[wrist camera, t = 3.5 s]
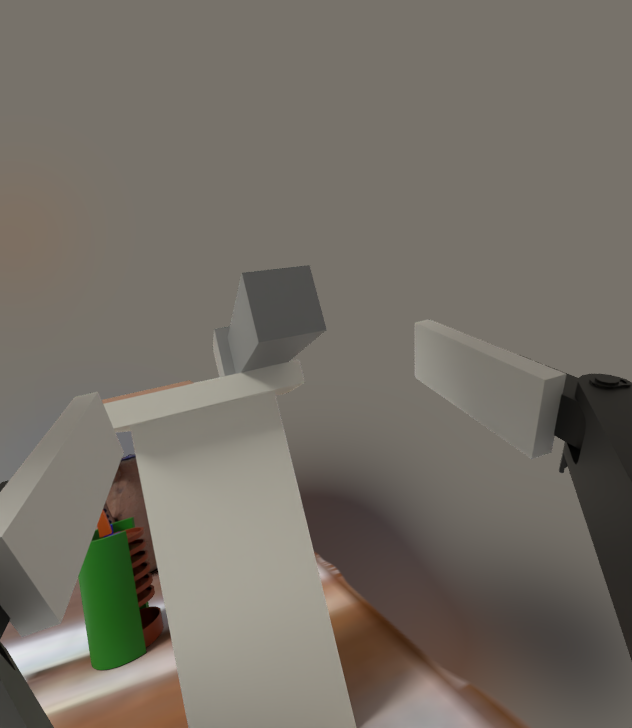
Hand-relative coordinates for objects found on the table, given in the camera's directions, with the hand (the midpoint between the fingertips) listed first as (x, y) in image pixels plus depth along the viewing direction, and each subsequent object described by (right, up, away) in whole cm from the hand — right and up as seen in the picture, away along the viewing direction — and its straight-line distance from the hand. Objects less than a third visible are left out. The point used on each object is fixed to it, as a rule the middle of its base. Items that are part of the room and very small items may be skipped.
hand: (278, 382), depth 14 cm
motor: (-25, -39, +33) cm, 57 cm away
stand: (-2, -31, +16) cm, 34 cm away
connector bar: (-3, 0, +15) cm, 15 cm away
